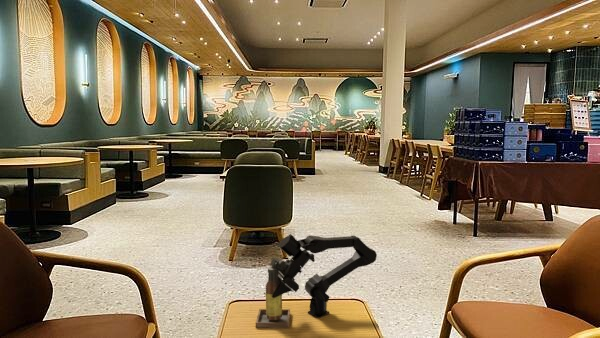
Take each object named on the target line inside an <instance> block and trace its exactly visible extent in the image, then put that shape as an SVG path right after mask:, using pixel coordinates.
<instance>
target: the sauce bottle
mask: <svg viewBox="0 0 600 338" xmlns="http://www.w3.org/2000/svg"><path fill="white" fill-rule="evenodd" d="M267 277H268V278H267V282H266V284H265V309H266V315H267V319H269V320H279V319H281V317H282V309H283V294H282V295H280V296H278V297H276V298H273V297H272V295H273V293H274V292H275V290H276V289H277V287H278V286H279V279H278V269H274V268H272V266H270V267H268V268H267Z"/></svg>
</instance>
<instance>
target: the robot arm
mask: <svg viewBox="0 0 600 338" xmlns="http://www.w3.org/2000/svg"><path fill="white" fill-rule="evenodd" d="M278 248H279V249H281V251H283V253H285V254H286V255H287V256H288V257H291V258H290V259H288V258H287V259H286V260H282V259H279V258H276V257H272V259H271V262H270V264H269V265H270V267H272V268H274V269H278V279H279V286H278V287H277V289H276V290H275V292H274V293H273V295H272V297H273V298H276V297H278V296H280V295H282V296H283V295H284V294H286V293H289V292H292V291H294V293H297V292H298V290H299V289H300V284H299V283H297V282H296V281H295V280H296V279H295V277H296V276H297V275H298V273H299V274H301V273H302V272H303V271H302V269H303V267H305V266H306V264H307V263H308V262H309V261H311V262H312V263H315V254H319V253H323V252H325V251H327V250H329V249H330V250H331V249H342V248H344V249H345V248H353V249H354V250H355V251H354V252H353V255H352V256H351V257H350V258H349V259H347V260H346V261H344V262H343V263H340V264H339V265H337V266H336V267H335V268H333V269H332V270H330V271H328V272H326V273H325V274H324V275H319V274H318V273H316V274H314V275H313V276H311V277H310V278H309V277H308V278H307V279H308V280H307V281H306V282H305V285H304V290H305V291H306V293H308V296H310V297H311V299H309V300H310V303H309V310H308V311H307V314H308V315H312V316H313V317H315V318H322V317H323V316H326V315H329V314H330V311H328V309H327V303H328V302H329V299H330V296H329V294H327V292H328V290H329V289H330V287H331V286H332V285H333V284H335V283H337V282H338V281H339V280H342V278H345V277H346V276H347V275H349V274H350V273H352V272H354V270H356V269H358V268H361V267H367V266H369V265H371V264H373V263H375V262H376V260H377V252H376V251H375V250H374V249H372V248H370V247H369V246H368V245H366V243H365V242H363V240H361V238H359V237H358V236H356V235H349V236H337V237H334V236H333V237H323V236H319V235H307V236H306V237H305V238H303V239H299V240H297V238H296V237H295V236H293V234H291V233H290V234H288V235H287V236H284V238H281V240H280V241H279V243H278ZM302 249H303V250H302Z"/></svg>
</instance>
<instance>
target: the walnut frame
mask: <svg viewBox="0 0 600 338" xmlns="http://www.w3.org/2000/svg"><path fill="white" fill-rule="evenodd" d="M290 318H291V309H287V308H285V309H284V308H282V317H281V319H279V320H269V319H267V315H266V308H259V309H258V313H257V316H256V321H255V329H289V328H290Z"/></svg>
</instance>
